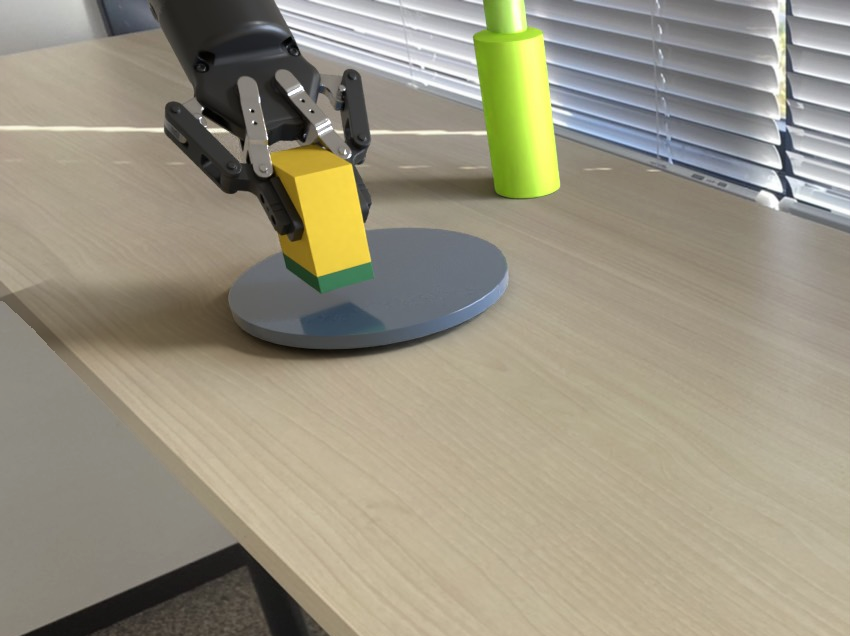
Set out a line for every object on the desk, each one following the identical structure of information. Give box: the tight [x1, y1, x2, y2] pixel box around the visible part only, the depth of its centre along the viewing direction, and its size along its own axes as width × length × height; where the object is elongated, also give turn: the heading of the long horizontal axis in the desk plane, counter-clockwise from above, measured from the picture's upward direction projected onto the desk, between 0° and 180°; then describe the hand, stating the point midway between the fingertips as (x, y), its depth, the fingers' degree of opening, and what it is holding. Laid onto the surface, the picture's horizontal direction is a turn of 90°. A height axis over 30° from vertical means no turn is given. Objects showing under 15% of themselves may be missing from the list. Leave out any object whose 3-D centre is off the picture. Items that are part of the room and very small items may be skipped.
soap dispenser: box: [472, 0, 561, 199], centre depth 99 cm, size 6×7×20 cm
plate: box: [227, 227, 510, 350], centre depth 86 cm, size 20×20×2 cm
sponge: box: [269, 144, 374, 294], centre depth 79 cm, size 4×6×8 cm
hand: (331, 225), depth 78 cm, fingers closed on sponge, 4 cm apart
